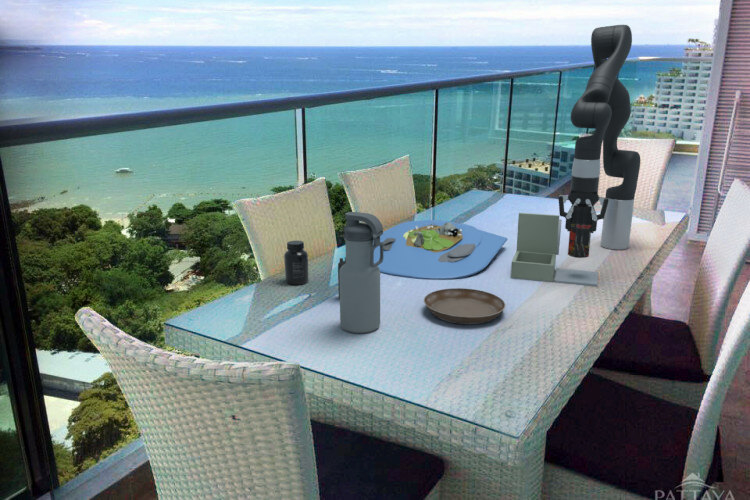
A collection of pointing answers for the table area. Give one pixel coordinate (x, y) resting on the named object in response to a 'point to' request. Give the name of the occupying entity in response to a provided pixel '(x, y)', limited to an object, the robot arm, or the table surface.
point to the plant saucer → (464, 305)
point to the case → (536, 247)
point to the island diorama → (436, 250)
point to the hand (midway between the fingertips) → (580, 231)
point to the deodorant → (580, 232)
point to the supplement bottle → (296, 263)
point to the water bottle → (360, 274)
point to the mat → (576, 277)
